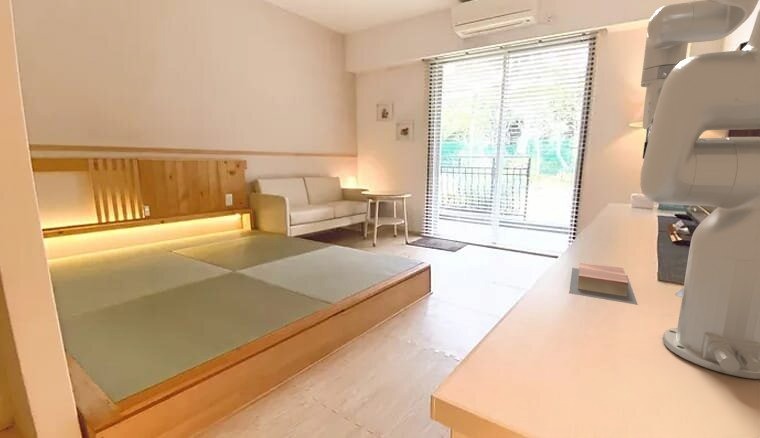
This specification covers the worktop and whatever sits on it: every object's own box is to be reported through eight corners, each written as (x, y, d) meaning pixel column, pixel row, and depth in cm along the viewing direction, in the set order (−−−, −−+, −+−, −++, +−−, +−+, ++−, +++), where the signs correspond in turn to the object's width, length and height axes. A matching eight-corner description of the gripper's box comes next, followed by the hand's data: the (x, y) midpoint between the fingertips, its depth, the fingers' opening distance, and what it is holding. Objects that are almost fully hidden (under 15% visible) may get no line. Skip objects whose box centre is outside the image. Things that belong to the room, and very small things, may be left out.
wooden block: (621, 280, 84) (626, 296, 73) (578, 273, 88) (577, 288, 78) (623, 268, 83) (628, 282, 73) (579, 262, 88) (578, 275, 77)
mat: (637, 306, 69) (637, 304, 69) (568, 295, 75) (569, 292, 75) (626, 277, 87) (627, 275, 87) (572, 269, 93) (572, 267, 93)
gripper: (691, 67, 72) (678, 158, 75) (675, 82, 84) (665, 159, 87) (646, 72, 75) (635, 158, 78) (637, 85, 88) (628, 159, 91)
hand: (651, 158), depth 83 cm, fingers closed
